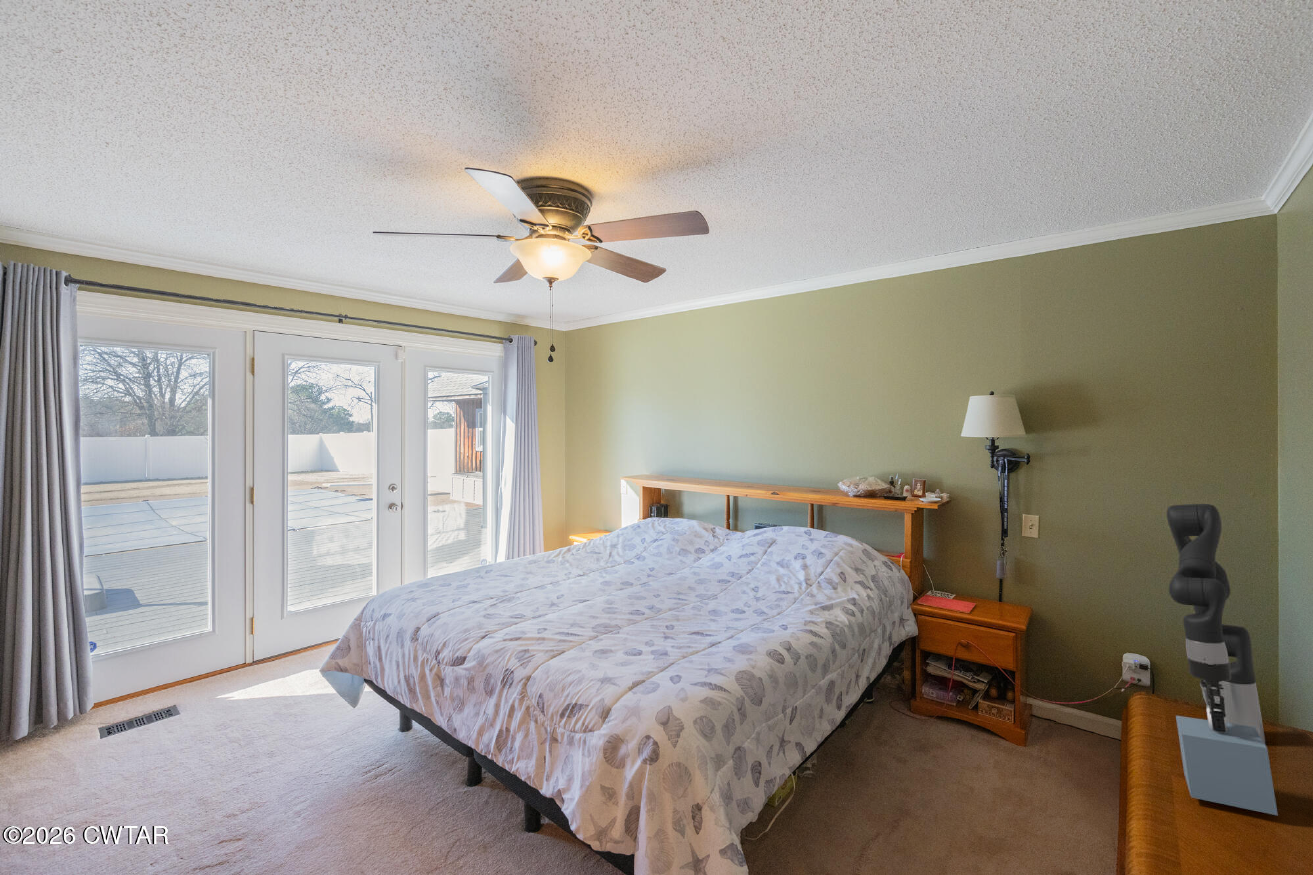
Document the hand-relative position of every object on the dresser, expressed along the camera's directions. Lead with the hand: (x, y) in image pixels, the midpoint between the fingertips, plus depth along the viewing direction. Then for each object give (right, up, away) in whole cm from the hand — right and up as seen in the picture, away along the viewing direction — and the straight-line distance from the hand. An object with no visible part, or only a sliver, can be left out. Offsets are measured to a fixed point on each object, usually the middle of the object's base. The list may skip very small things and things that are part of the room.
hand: (1218, 728), depth 139 cm
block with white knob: (+1, -16, -1) cm, 16 cm away
